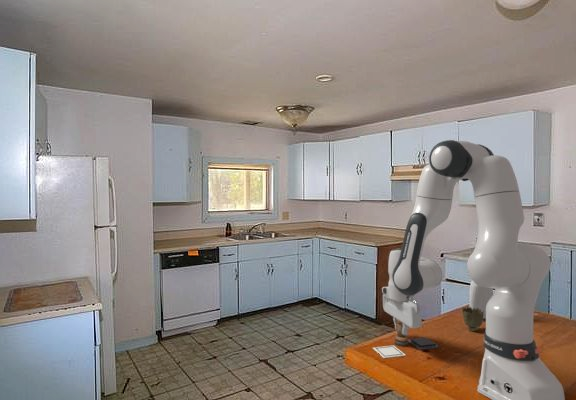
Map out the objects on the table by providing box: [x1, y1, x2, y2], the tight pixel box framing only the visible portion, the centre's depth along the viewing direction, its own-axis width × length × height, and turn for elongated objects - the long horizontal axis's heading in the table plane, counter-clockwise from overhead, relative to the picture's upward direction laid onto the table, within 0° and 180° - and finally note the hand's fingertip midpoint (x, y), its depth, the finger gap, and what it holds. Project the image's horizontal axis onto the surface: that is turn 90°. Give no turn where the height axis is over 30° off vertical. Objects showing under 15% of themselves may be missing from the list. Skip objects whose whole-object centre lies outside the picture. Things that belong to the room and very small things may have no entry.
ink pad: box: [408, 336, 439, 351], centre depth 131 cm, size 7×7×1 cm
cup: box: [461, 306, 484, 332], centre depth 144 cm, size 8×7×8 cm
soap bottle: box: [468, 279, 494, 320], centre depth 158 cm, size 14×8×27 cm, turn 122°
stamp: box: [394, 319, 409, 347], centre depth 131 cm, size 4×4×10 cm
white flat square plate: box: [372, 344, 407, 359], centre depth 125 cm, size 8×8×1 cm
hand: (401, 332), depth 131 cm, fingers closed on stamp, 3 cm apart
